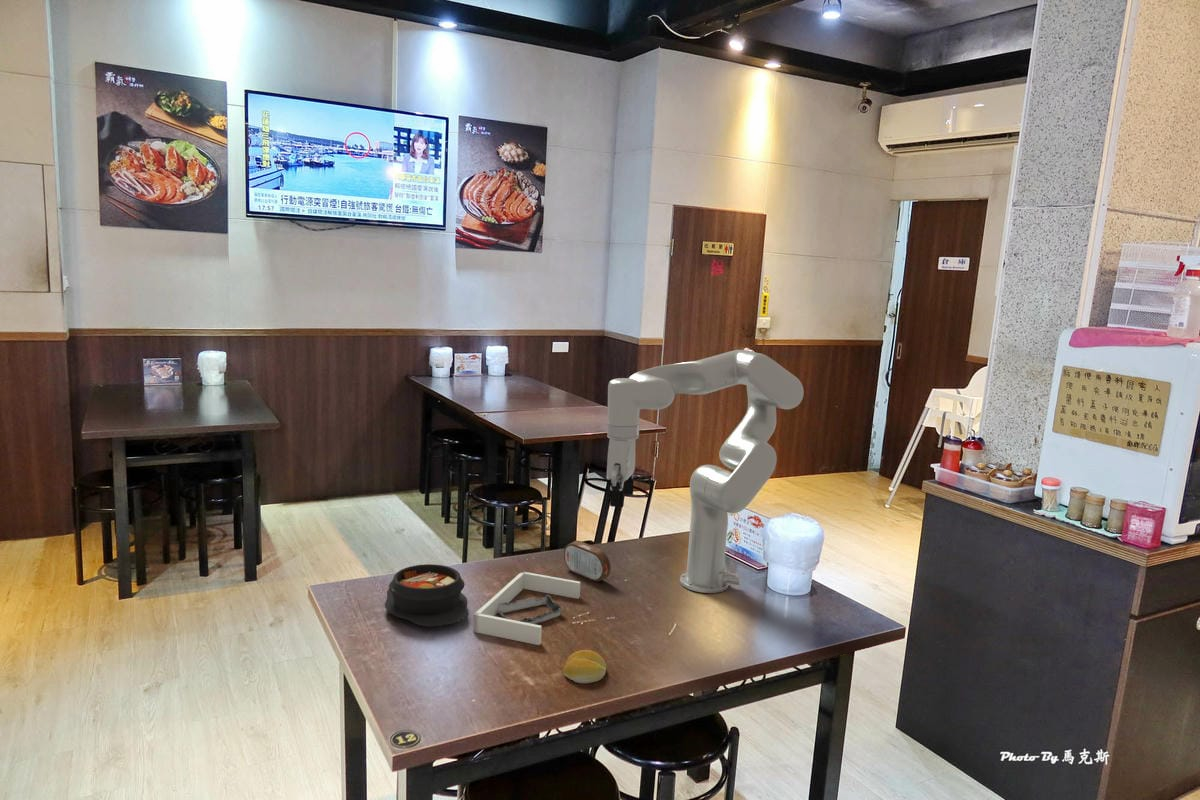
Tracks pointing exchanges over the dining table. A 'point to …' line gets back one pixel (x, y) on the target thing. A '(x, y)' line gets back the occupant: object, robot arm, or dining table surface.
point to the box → (524, 580)
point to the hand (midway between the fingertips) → (621, 500)
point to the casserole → (427, 595)
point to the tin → (587, 561)
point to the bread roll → (585, 667)
